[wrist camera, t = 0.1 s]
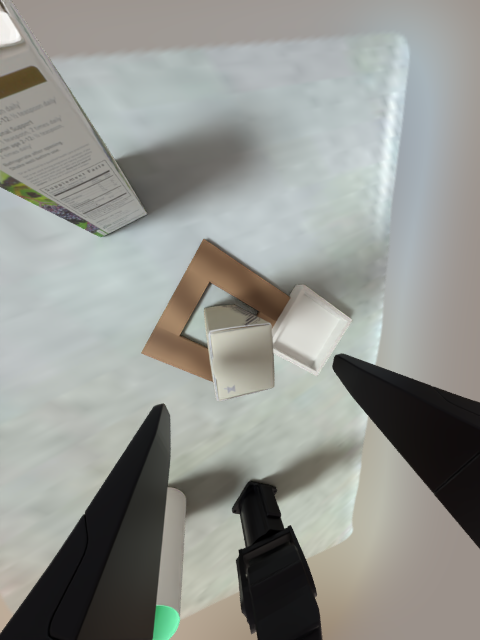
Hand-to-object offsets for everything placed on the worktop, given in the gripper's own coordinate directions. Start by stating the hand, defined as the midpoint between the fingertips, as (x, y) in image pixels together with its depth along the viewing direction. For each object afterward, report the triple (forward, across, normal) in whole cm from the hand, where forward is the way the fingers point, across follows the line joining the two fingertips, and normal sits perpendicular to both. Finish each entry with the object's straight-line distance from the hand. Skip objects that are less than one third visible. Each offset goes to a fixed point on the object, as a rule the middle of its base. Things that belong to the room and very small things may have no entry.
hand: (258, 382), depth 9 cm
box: (+15, 0, +4) cm, 16 cm away
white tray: (+14, -12, +8) cm, 20 cm away
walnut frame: (+15, 0, +4) cm, 15 cm away
